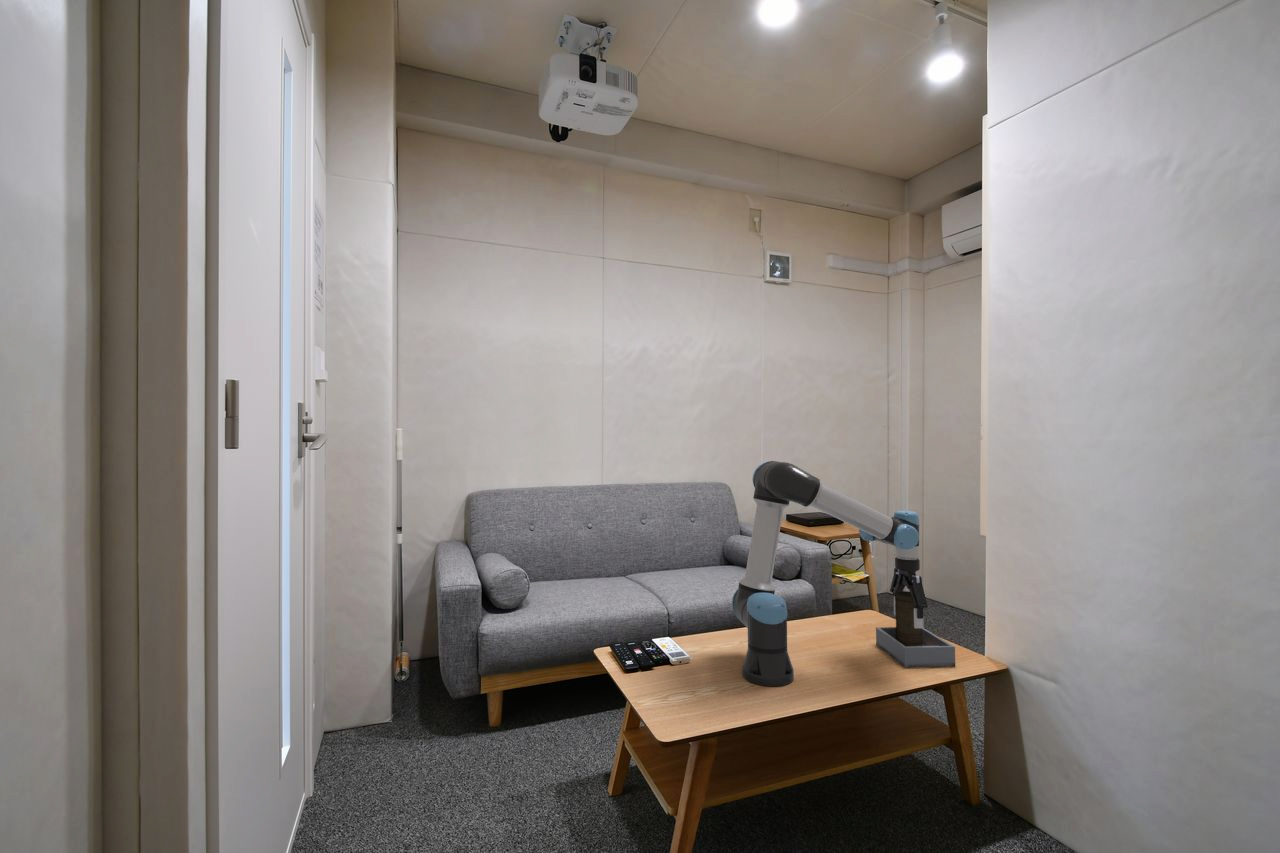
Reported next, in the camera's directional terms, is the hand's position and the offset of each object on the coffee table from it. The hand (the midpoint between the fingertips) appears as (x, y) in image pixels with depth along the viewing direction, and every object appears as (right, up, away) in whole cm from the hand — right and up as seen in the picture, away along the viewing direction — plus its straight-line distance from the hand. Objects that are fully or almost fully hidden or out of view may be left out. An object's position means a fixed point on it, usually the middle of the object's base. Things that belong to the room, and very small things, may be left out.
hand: (908, 621), depth 192 cm
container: (0, -9, 0) cm, 9 cm away
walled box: (0, -10, -3) cm, 10 cm away
